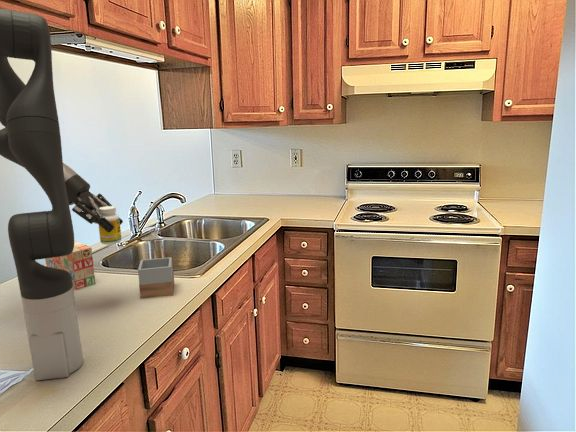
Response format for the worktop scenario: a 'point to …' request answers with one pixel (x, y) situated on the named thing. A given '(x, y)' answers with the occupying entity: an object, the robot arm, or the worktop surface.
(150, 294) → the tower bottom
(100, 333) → the worktop surface
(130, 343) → the worktop surface
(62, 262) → the stack of blocks
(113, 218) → the supplement bottle
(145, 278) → the tower top
